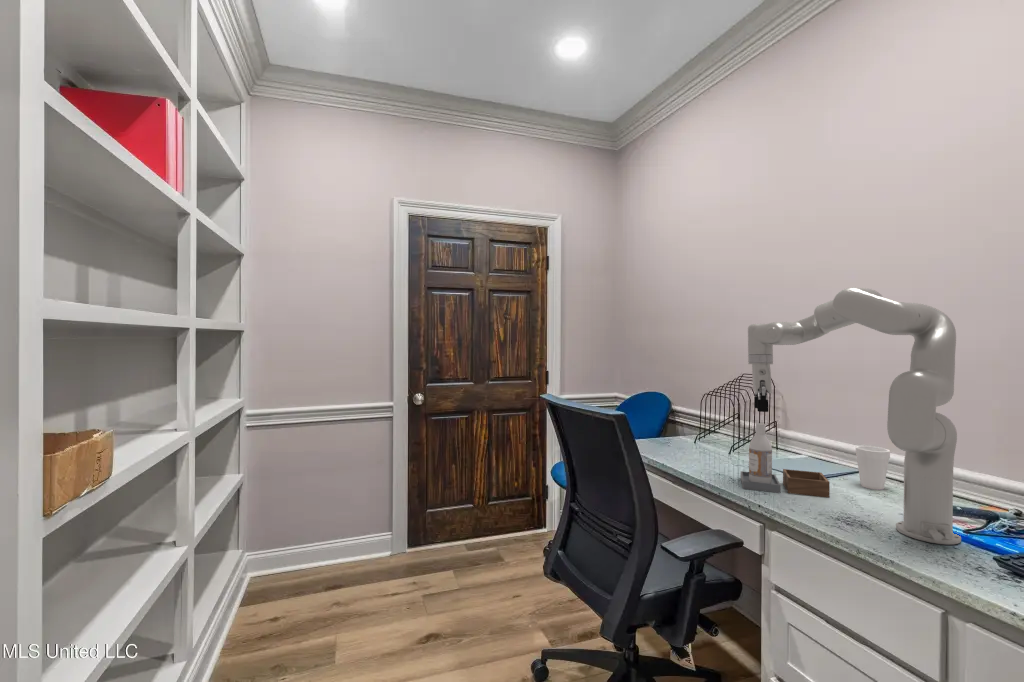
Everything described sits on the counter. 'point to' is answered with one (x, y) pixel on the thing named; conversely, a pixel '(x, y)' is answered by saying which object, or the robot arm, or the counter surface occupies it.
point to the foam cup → (872, 466)
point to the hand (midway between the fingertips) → (761, 409)
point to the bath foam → (760, 457)
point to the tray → (760, 484)
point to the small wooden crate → (806, 483)
